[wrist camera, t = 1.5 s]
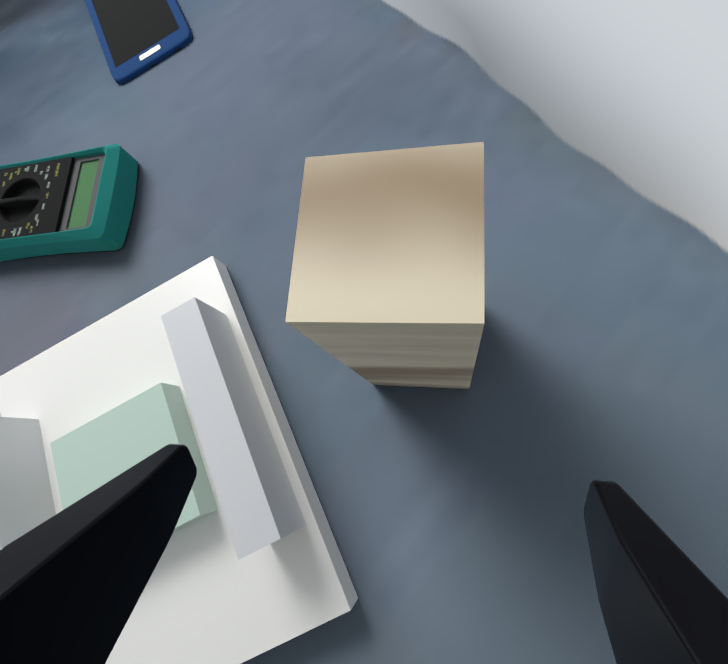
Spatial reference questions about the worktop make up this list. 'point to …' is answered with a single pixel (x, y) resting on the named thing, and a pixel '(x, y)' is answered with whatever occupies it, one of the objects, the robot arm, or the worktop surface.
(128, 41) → the cell phone
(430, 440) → the worktop surface
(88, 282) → the worktop surface
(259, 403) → the display stand
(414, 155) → the birch block
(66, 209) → the digital multimeter
